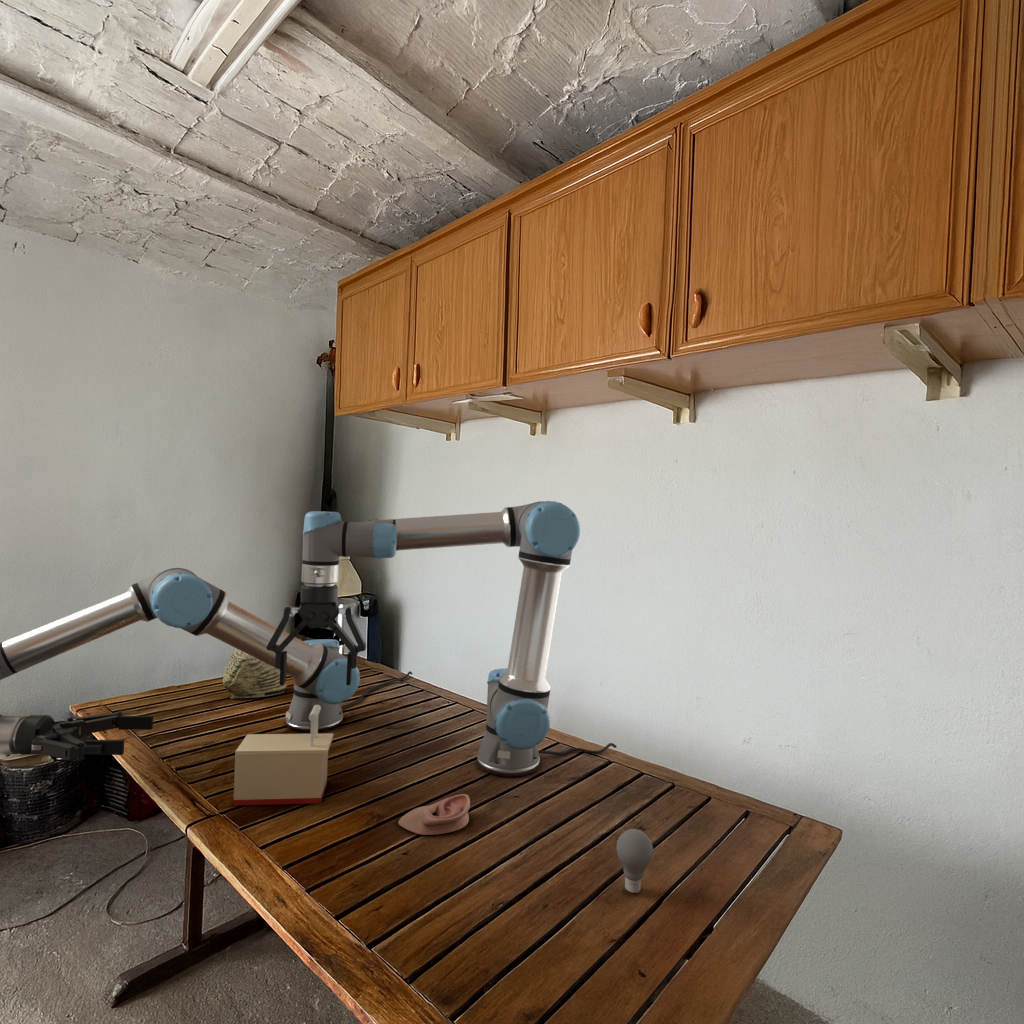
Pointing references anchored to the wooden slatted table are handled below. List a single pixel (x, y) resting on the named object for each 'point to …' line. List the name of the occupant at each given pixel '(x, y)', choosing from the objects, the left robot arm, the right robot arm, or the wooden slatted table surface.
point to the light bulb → (634, 857)
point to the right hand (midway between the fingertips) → (316, 683)
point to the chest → (280, 779)
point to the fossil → (251, 677)
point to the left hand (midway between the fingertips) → (138, 734)
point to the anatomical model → (438, 816)
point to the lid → (288, 741)
